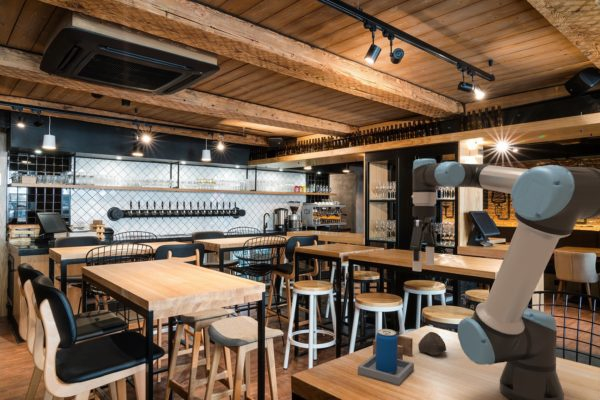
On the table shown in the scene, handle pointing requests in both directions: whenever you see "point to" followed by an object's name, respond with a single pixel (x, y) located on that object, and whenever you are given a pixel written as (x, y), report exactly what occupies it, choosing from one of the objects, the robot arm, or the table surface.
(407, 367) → the tray
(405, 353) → the cradle
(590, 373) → the table surface
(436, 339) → the stone
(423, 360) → the table surface
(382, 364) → the beverage can
